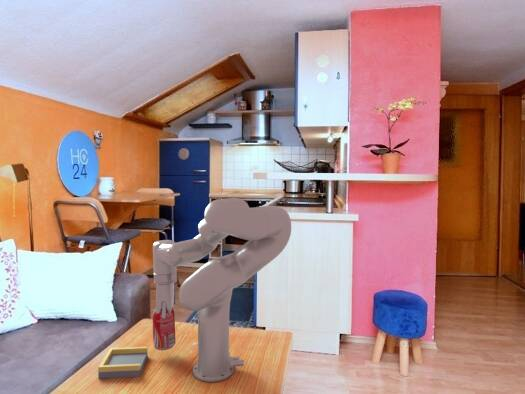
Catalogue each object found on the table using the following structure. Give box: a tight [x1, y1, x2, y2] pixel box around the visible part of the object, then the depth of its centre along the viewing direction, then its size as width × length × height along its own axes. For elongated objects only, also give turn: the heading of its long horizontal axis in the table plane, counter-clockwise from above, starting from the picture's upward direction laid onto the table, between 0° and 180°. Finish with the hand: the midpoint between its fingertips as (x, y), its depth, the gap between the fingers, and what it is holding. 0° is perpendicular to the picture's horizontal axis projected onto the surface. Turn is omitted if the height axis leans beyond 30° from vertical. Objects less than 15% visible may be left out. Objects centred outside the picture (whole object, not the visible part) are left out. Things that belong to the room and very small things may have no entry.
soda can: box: [151, 306, 176, 351], centre depth 124 cm, size 7×7×13 cm
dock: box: [97, 346, 149, 380], centre depth 118 cm, size 12×12×4 cm
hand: (167, 330), depth 126 cm, fingers closed on soda can, 2 cm apart
